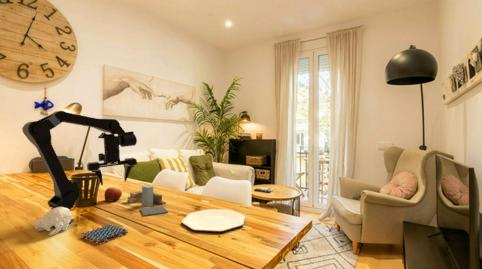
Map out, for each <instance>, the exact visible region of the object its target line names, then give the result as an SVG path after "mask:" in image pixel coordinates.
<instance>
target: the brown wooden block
mask: <svg viewBox="0 0 482 269" xmlns="http://www.w3.org/2000/svg"><path fill="white" fill-rule="evenodd" d="M165 204H167V202H166V201H163V195H162V194H159V193H155V192H153V205H157V206H163V205H165Z"/></svg>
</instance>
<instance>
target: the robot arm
mask: <svg viewBox="0 0 482 269" xmlns="http://www.w3.org/2000/svg"><path fill="white" fill-rule="evenodd" d="M61 123H66V124H71V125H77V126H83V127H88V128H93V129H95V130H97V131H101V134H99V136H97V138H98V139H103V146H104V147H103V149H104V151H103V152H104V153H98V155H97V156H98V161H92V162H87V163H86V170H87V171H88V172H91V173H94V174H95V176H97V178H98V181H99V183H100V185H101V186H104V180H103V177H102V172H101V169H100V168H107V167H116V166H122V165H123V167H124V174H123V175H124V178H123V179H124V182H127V180H128V177H129V174H130V172H131V170H132V168H134V167H135V166H136V165H138V160H137V159H136V158H134V157H127V158H124V160H121V158H120V154H121V153H120V152H121V151H120V147H121V148H124V147H134V146H136V145H137V142H138V139H137V136H136V135H135V134H134V133H135V132H134V131H125V130H124V128H123V127H122V126H121V124H120V122H119V121H118V120H117V119H115V118H96V117H91V116H86V115H81V114H75V113H72V112H66V111H64V110H58V111H54V112H52V113H50V114H49V115H47V116H45V117H42V118H41V119H38V120H33V121H28V122H26V123H25V124H24V125H23V127H22V129H21V130H22V132H23V134H24V135H25V137H26V138H27V140H28V141H29V142H30V143H31V144H32V146H34V147H35V148H36V149H37V152H38V154H39V156H40V157H41V160H42V162H43V164H44V166H45V168H46V170H47V172H48V174H49V176H50V178H51V180H52V182H53V192H54V195H53V196H52V197H51V198H50V199H49V200H48V201H47V202H46V203H47V205H48V207H49V208H51V209H53V208H57V207H65V208H68V209H69V210H70V211H71V209H73V208H74V206H75V204H76V202H77V201H78V200H79V197H80V191H82V190H81V189H80V188H79V185H78V182H77V180H72V179H69V178H68V176H67V175H66V173H65V172H66V171H65V170H64V168H63V166H62V164H61V162H60V160H59V158H58V155H57V153H56V151H55V148H54V147H53V146H54V145H52V144H53V143H52V133H51V130H53V129H54V128H56V127H57V126H59V125H60V124H61ZM100 162H101V163H100ZM51 209H50V210H51ZM74 221H75V219H73V218H71V221H70V223H69V225H70V224H72V223H73V222H74ZM52 228H55V226H53V227H52Z"/></svg>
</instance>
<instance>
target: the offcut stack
mask: <svg viewBox="0 0 482 269" xmlns="http://www.w3.org/2000/svg"><path fill="white" fill-rule="evenodd" d="M140 202H142V190H139V191H133V192H129V196H128V197H127V203H130V204H135V203H140Z"/></svg>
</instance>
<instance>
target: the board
mask: <svg viewBox="0 0 482 269" xmlns="http://www.w3.org/2000/svg"><path fill="white" fill-rule="evenodd" d="M141 191H142V201H141V205H142V206H144V207H145V208H150V207H154V203H153V193H154V186H151V185H143V186H141Z"/></svg>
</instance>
